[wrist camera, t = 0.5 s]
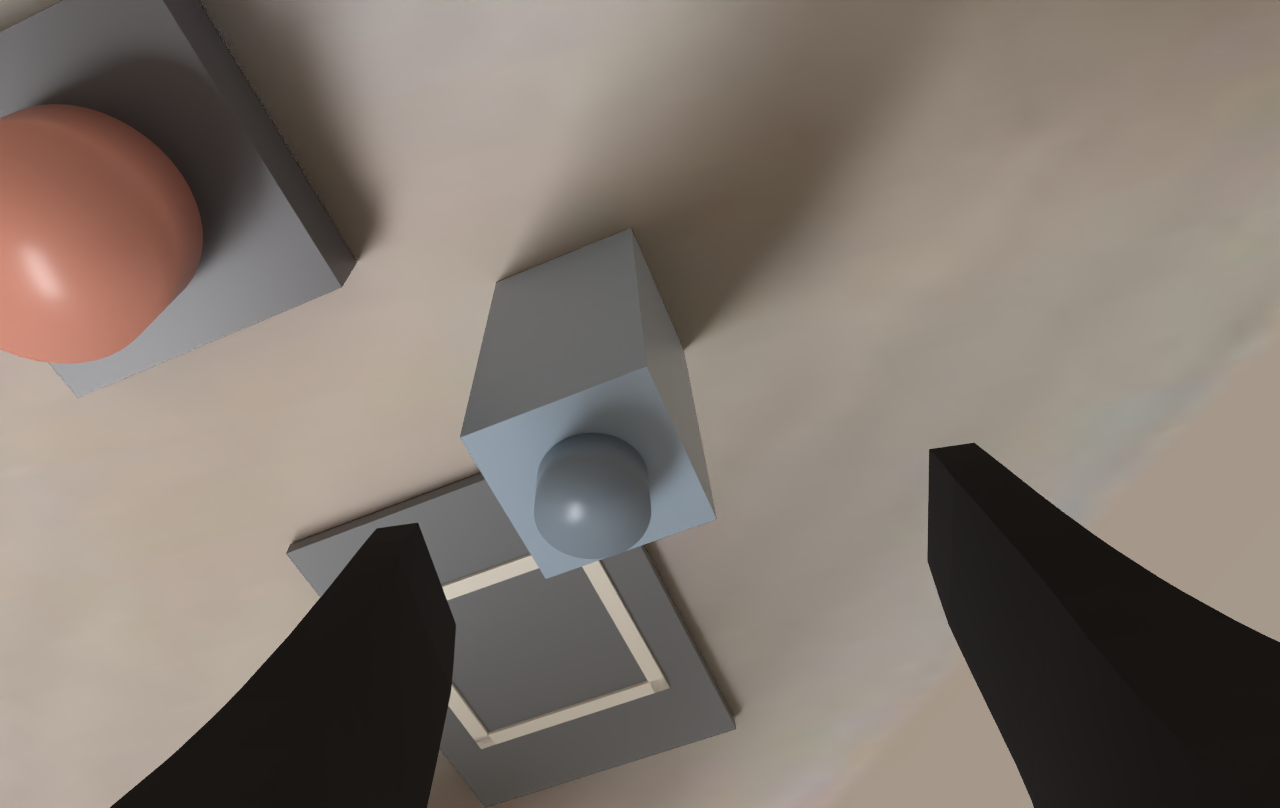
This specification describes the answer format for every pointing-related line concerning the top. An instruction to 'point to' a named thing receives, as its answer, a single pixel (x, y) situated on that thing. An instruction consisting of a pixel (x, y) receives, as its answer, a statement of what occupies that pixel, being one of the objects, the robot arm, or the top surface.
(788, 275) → the top surface
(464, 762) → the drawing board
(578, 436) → the grey rectangular block
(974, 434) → the top surface
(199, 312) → the button base
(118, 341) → the button
